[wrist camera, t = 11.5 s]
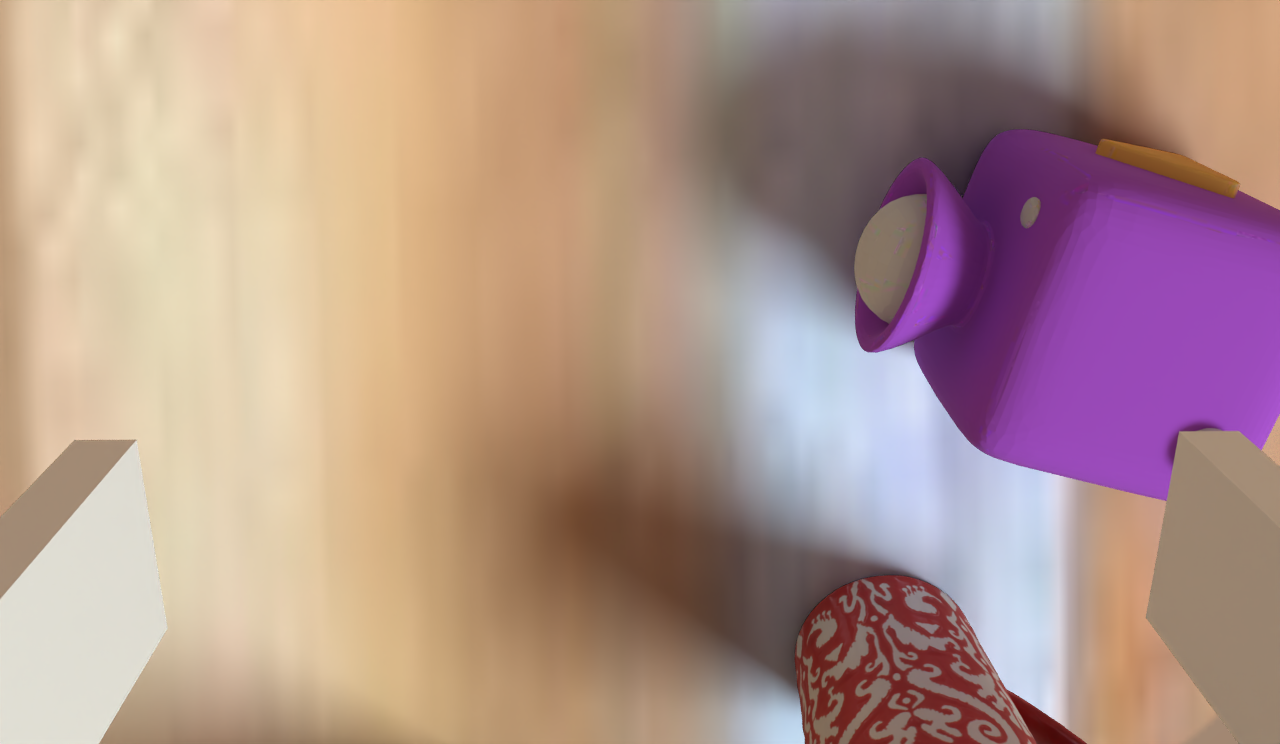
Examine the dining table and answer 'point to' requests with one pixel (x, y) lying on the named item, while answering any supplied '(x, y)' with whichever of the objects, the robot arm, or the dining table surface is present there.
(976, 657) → the mug
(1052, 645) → the dining table surface
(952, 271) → the toy camera
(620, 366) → the dining table surface
